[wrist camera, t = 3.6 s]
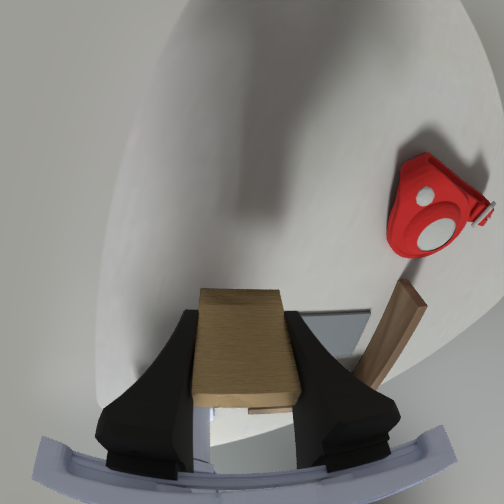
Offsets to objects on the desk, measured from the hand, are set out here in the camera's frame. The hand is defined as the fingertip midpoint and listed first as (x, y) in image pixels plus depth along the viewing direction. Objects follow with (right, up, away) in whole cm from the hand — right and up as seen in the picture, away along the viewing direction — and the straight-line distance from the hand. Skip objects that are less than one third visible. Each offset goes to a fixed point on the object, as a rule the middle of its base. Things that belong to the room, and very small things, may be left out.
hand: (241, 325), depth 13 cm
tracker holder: (+17, +7, +8) cm, 20 cm away
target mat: (+7, -5, +14) cm, 16 cm away
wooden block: (0, -1, +3) cm, 3 cm away
